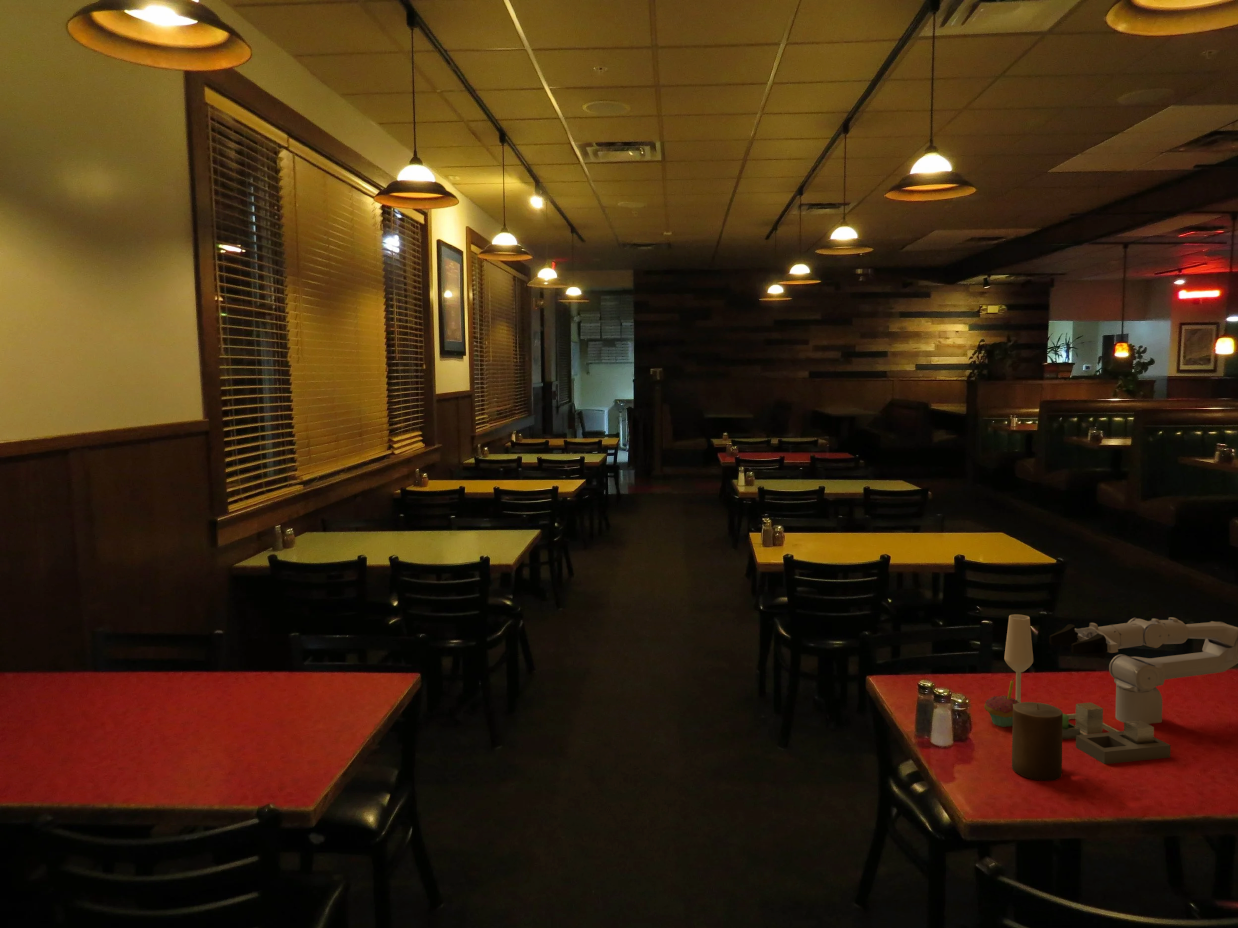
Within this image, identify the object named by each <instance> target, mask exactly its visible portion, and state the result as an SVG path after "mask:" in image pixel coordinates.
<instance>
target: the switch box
mask: <svg viewBox="0 0 1238 928" xmlns="http://www.w3.org/2000/svg"><path fill="white" fill-rule="evenodd" d="M1075 725H1076V724H1075ZM1075 725H1074V724H1073V723H1071V722H1069V724H1068V728H1064V729H1062V740H1071V739H1072V740H1073V739H1076V735H1080V731H1081V730H1080V728H1079V727H1077V726H1075Z"/></svg>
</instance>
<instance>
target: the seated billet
mask: <svg viewBox="0 0 1238 928" xmlns="http://www.w3.org/2000/svg"><path fill="white" fill-rule="evenodd" d="M1123 731H1124V738H1125V739H1127V740H1129V741H1131V742H1133V743H1134V744H1136V745H1140V744H1150V743H1153V742H1154V737H1155V736H1154V735H1155V726H1152V725H1151V724H1147V723H1145V722H1143V721H1141V720H1137V721H1127V722H1124V723H1123Z"/></svg>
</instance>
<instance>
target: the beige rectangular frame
mask: <svg viewBox="0 0 1238 928" xmlns="http://www.w3.org/2000/svg"><path fill="white" fill-rule="evenodd" d="M1065 714H1066V713H1065ZM1066 715H1068V716H1069V720H1076V713H1067V714H1066ZM1103 730H1105V731H1107V732H1118V731H1119V730H1118V729H1116V728H1114V727H1113V726H1110V725H1109V724H1106V723H1105V722H1103ZM1080 735H1087V734H1086V733H1084V732H1082V731H1081V730H1080Z"/></svg>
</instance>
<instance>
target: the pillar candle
mask: <svg viewBox="0 0 1238 928" xmlns="http://www.w3.org/2000/svg"><path fill="white" fill-rule="evenodd" d="M1021 702H1022V701H1021ZM1063 714H1064V713H1063V711H1062V709H1060V708H1059V707H1056V706H1054V705H1051V704H1049V703H1042V702H1034V701H1023V702H1022V703H1017V704H1013V726H1012V734H1011V735H1012V736H1011V742H1012V743H1011V768H1012V770H1013V771H1014V772H1015V773H1016V774H1018V775H1021V776H1022V777H1023V778H1027V779H1031V780H1035V781H1040V782H1041V781H1042V782H1043V781H1044V782H1045V781H1047V782H1049V781H1050V782H1051V781H1053V782H1054V781H1057V780H1059V779H1060V778H1061V777H1062V776H1063V772H1062V770H1063V739H1062V724H1063Z"/></svg>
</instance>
